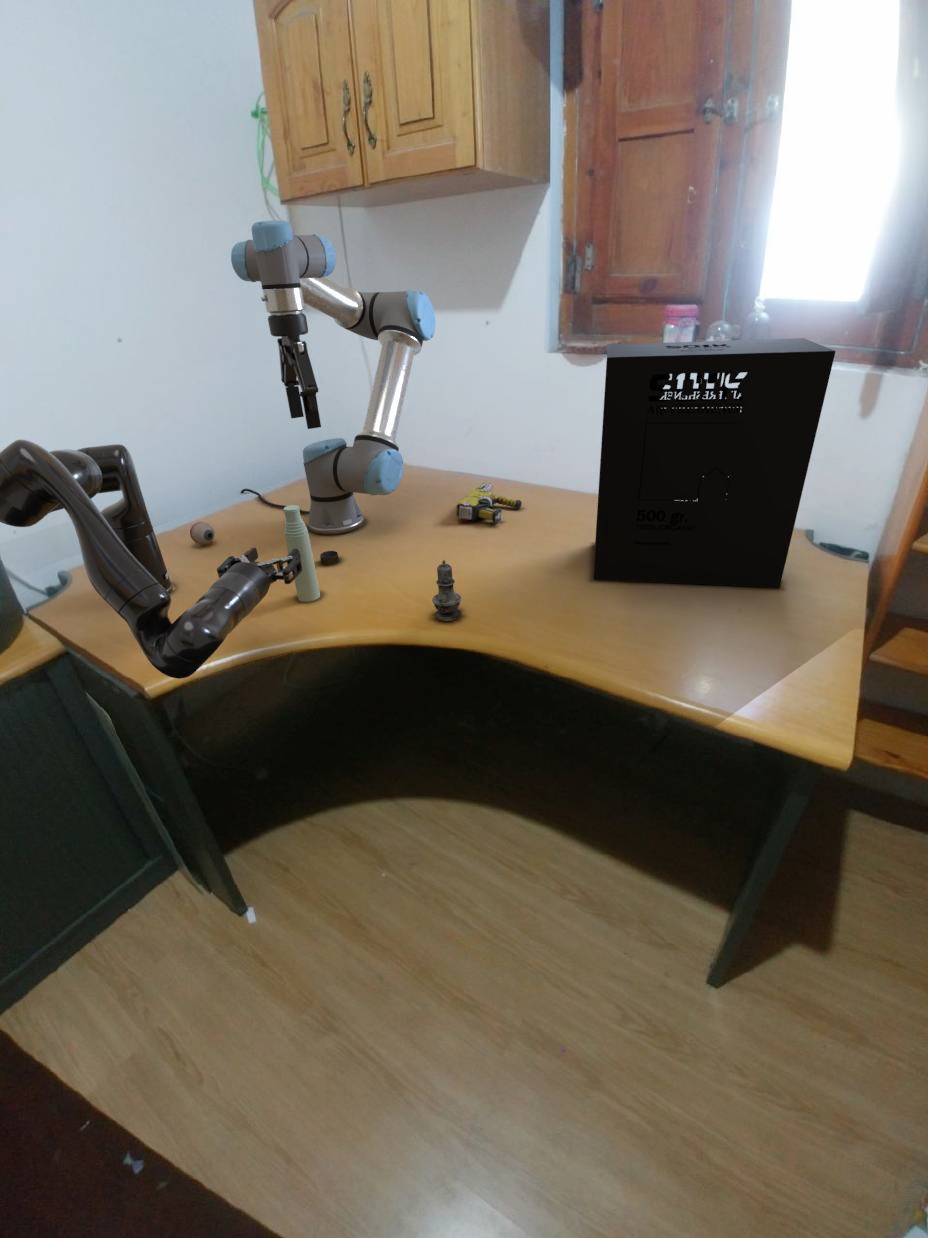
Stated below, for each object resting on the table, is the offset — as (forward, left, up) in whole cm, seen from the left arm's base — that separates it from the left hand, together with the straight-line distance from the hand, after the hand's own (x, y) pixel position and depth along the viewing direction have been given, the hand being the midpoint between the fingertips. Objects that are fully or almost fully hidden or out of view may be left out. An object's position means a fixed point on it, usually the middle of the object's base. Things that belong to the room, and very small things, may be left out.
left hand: (276, 552), depth 116 cm
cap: (-1, +28, -13) cm, 31 cm away
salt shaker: (+32, +4, -15) cm, 36 cm away
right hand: (-1, +28, +18) cm, 34 cm away
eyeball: (-40, +38, -15) cm, 57 cm away
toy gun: (+35, +65, -15) cm, 75 cm away
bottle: (0, +10, -15) cm, 18 cm away
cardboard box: (+81, +30, -15) cm, 87 cm away
